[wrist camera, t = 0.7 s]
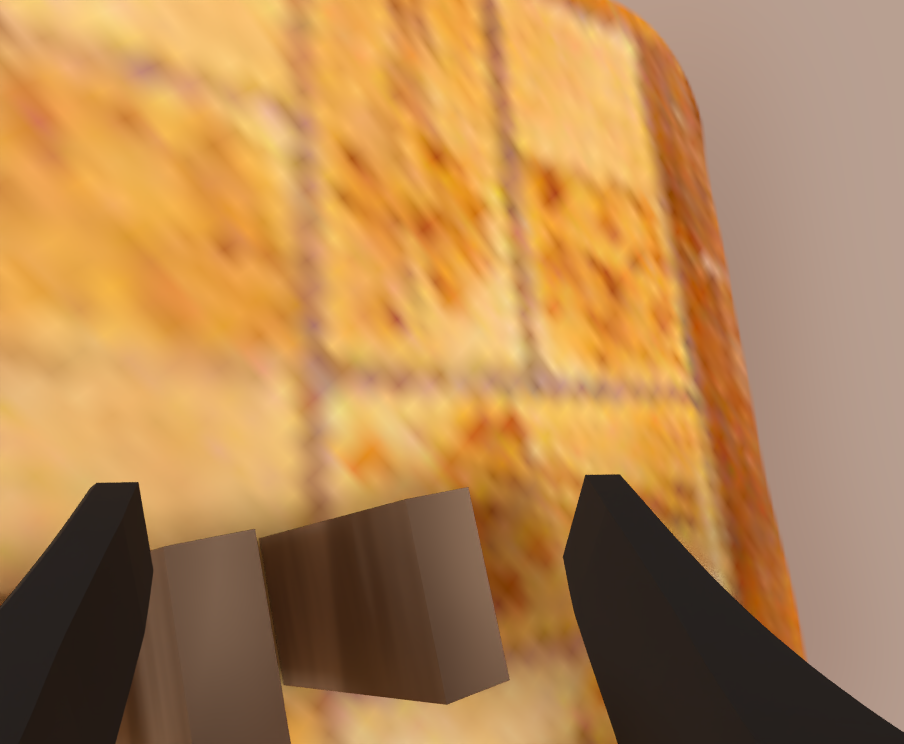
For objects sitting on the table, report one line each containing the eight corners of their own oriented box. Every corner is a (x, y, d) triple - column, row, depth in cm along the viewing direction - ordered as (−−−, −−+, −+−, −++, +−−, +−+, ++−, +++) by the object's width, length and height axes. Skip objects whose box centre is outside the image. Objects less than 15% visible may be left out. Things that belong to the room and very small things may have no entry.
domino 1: (141, 562, 26) (255, 529, 18) (164, 723, 25) (294, 764, 17) (73, 575, 24) (163, 546, 16) (95, 746, 23) (200, 801, 16)
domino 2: (310, 527, 29) (468, 487, 21) (336, 668, 28) (509, 680, 20) (259, 538, 28) (405, 499, 20) (283, 684, 27) (446, 704, 19)
